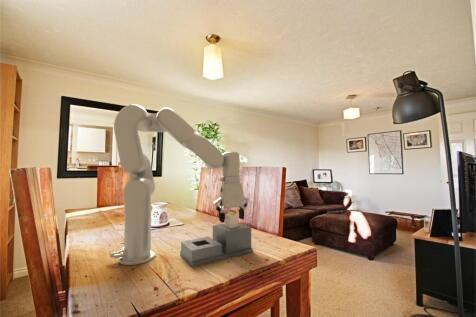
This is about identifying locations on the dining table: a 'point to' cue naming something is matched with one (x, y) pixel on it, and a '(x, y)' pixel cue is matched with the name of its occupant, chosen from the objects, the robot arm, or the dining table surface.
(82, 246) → the dining table surface
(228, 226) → the plug
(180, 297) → the dining table surface
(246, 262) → the dining table surface
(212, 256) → the socket block
